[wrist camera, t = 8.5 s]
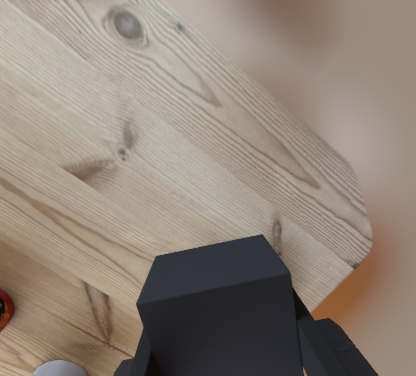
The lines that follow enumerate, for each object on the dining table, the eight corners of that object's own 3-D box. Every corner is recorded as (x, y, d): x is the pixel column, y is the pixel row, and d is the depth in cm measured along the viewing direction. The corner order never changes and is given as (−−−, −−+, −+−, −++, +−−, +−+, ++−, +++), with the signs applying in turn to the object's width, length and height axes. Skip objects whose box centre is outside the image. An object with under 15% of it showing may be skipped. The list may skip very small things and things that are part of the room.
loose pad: (262, 233, 13) (291, 272, 9) (282, 362, 15) (312, 440, 11) (155, 255, 13) (135, 304, 9) (191, 380, 15) (187, 465, 11)
